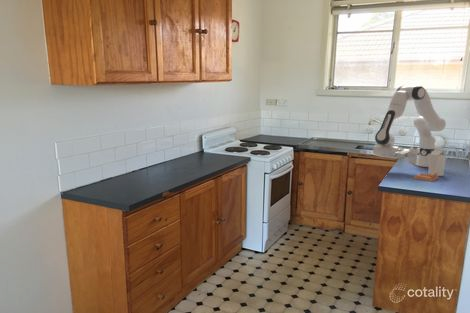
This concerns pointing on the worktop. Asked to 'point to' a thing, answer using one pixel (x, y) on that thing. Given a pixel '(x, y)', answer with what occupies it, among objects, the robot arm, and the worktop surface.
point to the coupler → (426, 177)
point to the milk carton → (437, 162)
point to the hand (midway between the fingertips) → (415, 155)
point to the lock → (415, 155)
